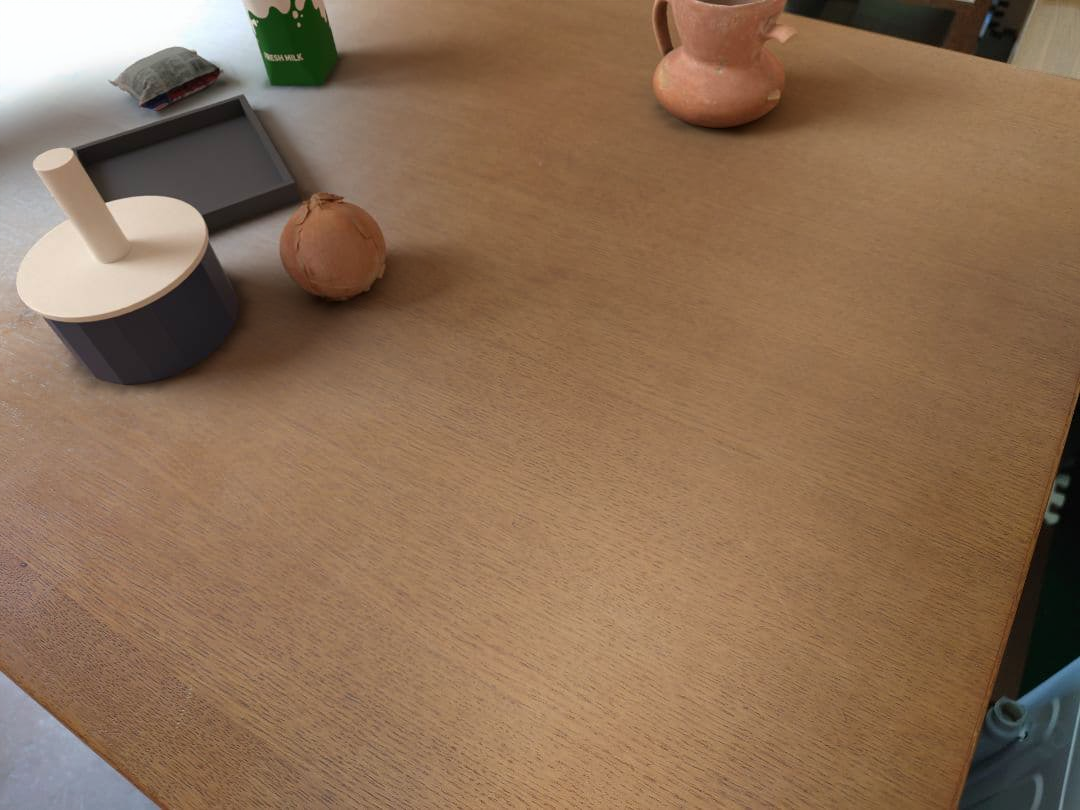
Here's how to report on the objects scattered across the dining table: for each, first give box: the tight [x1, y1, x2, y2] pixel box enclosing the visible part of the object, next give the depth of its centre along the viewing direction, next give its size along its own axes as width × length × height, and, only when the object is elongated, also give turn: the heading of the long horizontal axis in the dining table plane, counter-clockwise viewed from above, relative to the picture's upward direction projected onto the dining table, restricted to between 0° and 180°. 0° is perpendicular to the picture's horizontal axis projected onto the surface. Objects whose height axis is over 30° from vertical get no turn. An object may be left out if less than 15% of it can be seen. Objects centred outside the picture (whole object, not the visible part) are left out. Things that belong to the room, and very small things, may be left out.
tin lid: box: [15, 147, 210, 322], centre depth 62 cm, size 16×16×10 cm
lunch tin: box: [41, 239, 240, 385], centre depth 69 cm, size 15×15×8 cm
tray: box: [70, 93, 302, 234], centre depth 86 cm, size 22×21×3 cm
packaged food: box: [107, 46, 225, 111], centre depth 99 cm, size 9×12×5 cm
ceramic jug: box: [651, 0, 798, 129], centre depth 84 cm, size 18×14×14 cm
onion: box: [279, 191, 387, 302], centre depth 71 cm, size 10×9×10 cm
